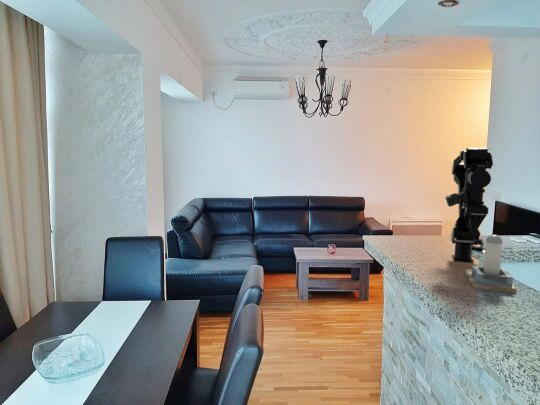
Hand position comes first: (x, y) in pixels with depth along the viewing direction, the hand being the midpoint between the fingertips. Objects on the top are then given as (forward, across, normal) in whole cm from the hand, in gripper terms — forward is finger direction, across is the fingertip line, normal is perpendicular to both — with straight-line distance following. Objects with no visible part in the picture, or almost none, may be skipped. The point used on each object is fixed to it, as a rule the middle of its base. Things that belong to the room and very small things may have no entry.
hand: (470, 231), depth 134 cm
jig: (+13, +13, +4) cm, 19 cm away
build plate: (+14, -32, +8) cm, 36 cm away
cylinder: (+12, +16, +4) cm, 20 cm away
